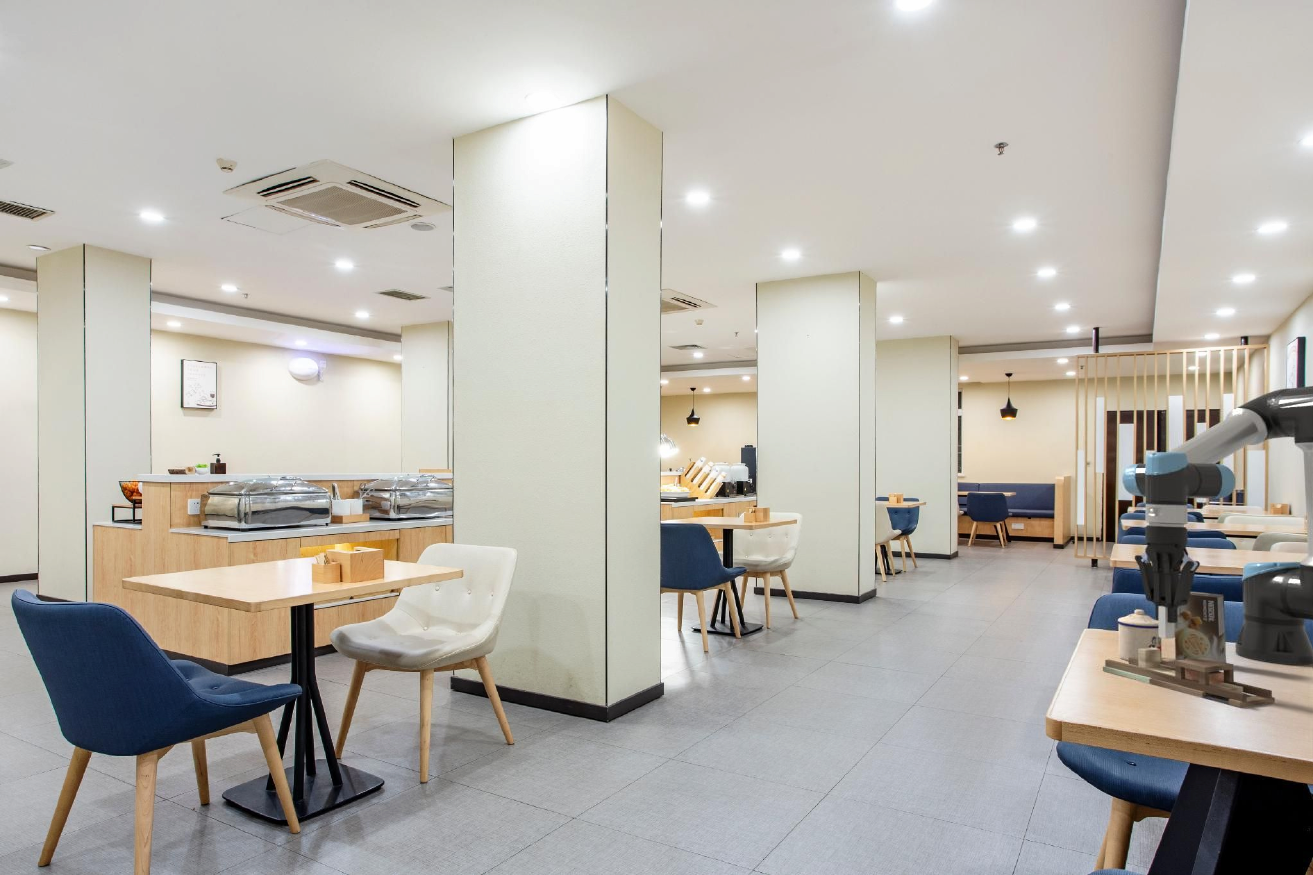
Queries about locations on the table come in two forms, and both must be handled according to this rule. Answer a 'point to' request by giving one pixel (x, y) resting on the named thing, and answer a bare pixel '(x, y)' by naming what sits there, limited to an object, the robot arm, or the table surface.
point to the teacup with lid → (1137, 634)
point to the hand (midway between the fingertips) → (1166, 637)
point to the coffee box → (1201, 628)
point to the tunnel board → (1192, 686)
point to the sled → (1151, 661)
